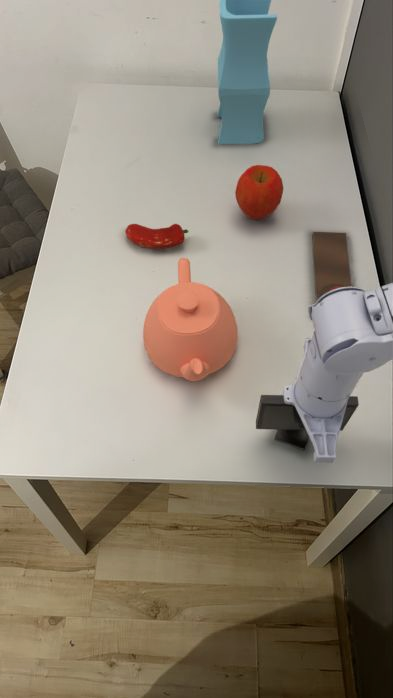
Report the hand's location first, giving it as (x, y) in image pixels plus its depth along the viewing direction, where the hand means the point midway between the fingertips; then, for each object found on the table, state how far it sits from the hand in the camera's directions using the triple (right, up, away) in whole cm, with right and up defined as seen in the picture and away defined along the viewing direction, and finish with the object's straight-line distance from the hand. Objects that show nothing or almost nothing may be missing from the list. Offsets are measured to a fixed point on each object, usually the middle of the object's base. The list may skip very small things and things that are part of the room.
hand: (306, 423), depth 64 cm
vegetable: (-22, +29, +29) cm, 47 cm away
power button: (+9, +18, +19) cm, 28 cm away
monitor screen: (0, -1, +6) cm, 6 cm away
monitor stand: (0, -3, +10) cm, 11 cm away
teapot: (-15, +10, +18) cm, 26 cm away
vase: (-5, +57, +45) cm, 73 cm away
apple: (-3, +35, +32) cm, 47 cm away
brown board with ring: (+10, +23, +25) cm, 35 cm away
